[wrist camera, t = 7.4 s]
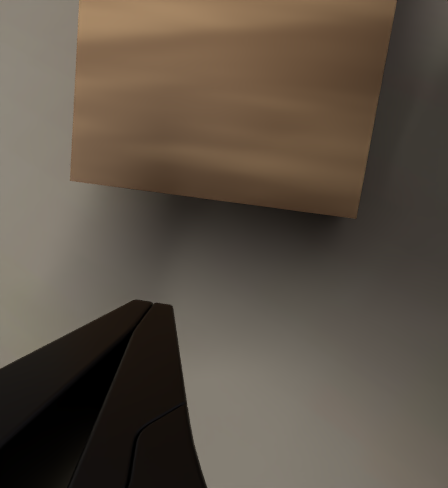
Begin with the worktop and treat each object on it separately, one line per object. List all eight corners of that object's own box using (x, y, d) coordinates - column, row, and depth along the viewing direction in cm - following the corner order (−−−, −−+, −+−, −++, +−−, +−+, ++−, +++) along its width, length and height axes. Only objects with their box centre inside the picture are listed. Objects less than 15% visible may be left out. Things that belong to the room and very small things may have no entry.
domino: (356, 218, 15) (426, -159, 13) (70, 180, 16) (88, -181, 14) (344, 212, 18) (401, -109, 15) (95, 179, 18) (114, -130, 16)
